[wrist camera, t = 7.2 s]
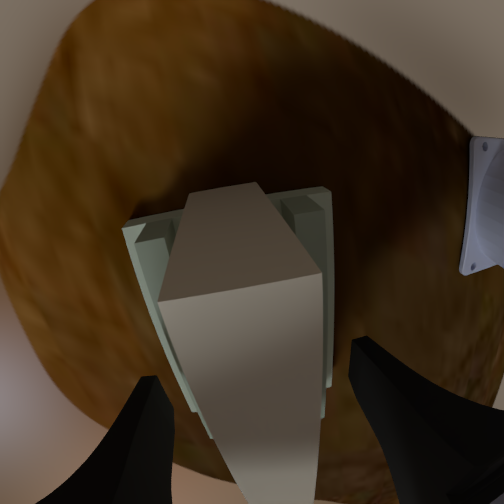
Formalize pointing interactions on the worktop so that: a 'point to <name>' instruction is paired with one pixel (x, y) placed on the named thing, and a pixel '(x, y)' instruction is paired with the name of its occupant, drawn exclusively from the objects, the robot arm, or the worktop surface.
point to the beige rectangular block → (249, 338)
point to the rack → (298, 219)
